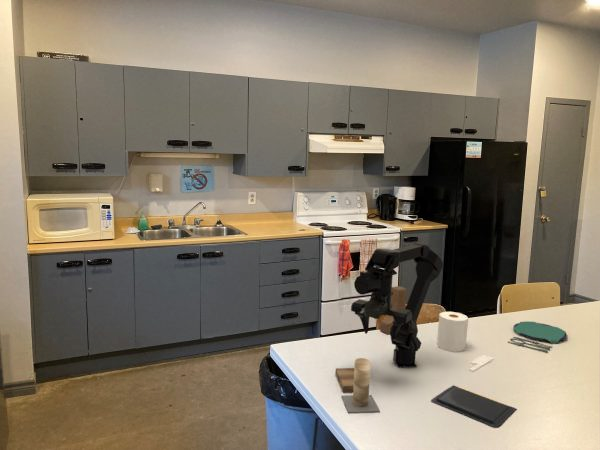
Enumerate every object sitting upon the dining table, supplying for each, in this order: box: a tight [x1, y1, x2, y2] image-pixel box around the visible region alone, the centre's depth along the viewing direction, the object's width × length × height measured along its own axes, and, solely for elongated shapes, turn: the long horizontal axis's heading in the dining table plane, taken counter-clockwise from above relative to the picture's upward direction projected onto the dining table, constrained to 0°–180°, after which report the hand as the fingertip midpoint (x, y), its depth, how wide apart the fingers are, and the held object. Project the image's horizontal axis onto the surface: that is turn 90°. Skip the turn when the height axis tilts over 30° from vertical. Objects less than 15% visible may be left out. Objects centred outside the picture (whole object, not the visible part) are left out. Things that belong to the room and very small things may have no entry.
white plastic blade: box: [468, 355, 494, 373], centre depth 169 cm, size 5×15×1 cm, turn 133°
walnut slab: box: [334, 367, 355, 394], centre depth 151 cm, size 12×7×2 cm, turn 7°
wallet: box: [430, 385, 518, 429], centre depth 140 cm, size 20×2×15 cm
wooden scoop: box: [379, 285, 408, 335], centre depth 195 cm, size 9×4×18 cm, turn 119°
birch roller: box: [352, 357, 372, 407], centre depth 137 cm, size 4×4×12 cm
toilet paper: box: [436, 311, 469, 353], centre depth 182 cm, size 10×10×12 cm
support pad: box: [341, 394, 381, 414], centre depth 138 cm, size 9×9×1 cm
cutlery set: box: [507, 320, 568, 354], centre depth 196 cm, size 20×30×2 cm, turn 139°
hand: (379, 336), depth 155 cm, fingers open, 9 cm apart
